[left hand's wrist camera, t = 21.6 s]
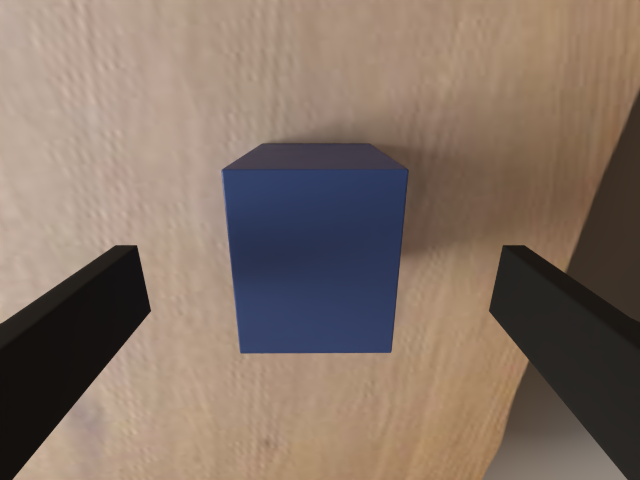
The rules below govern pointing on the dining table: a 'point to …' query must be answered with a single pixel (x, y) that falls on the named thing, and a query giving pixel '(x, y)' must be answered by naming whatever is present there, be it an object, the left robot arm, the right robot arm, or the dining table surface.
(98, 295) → the left robot arm
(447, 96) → the dining table surface
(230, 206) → the brick
